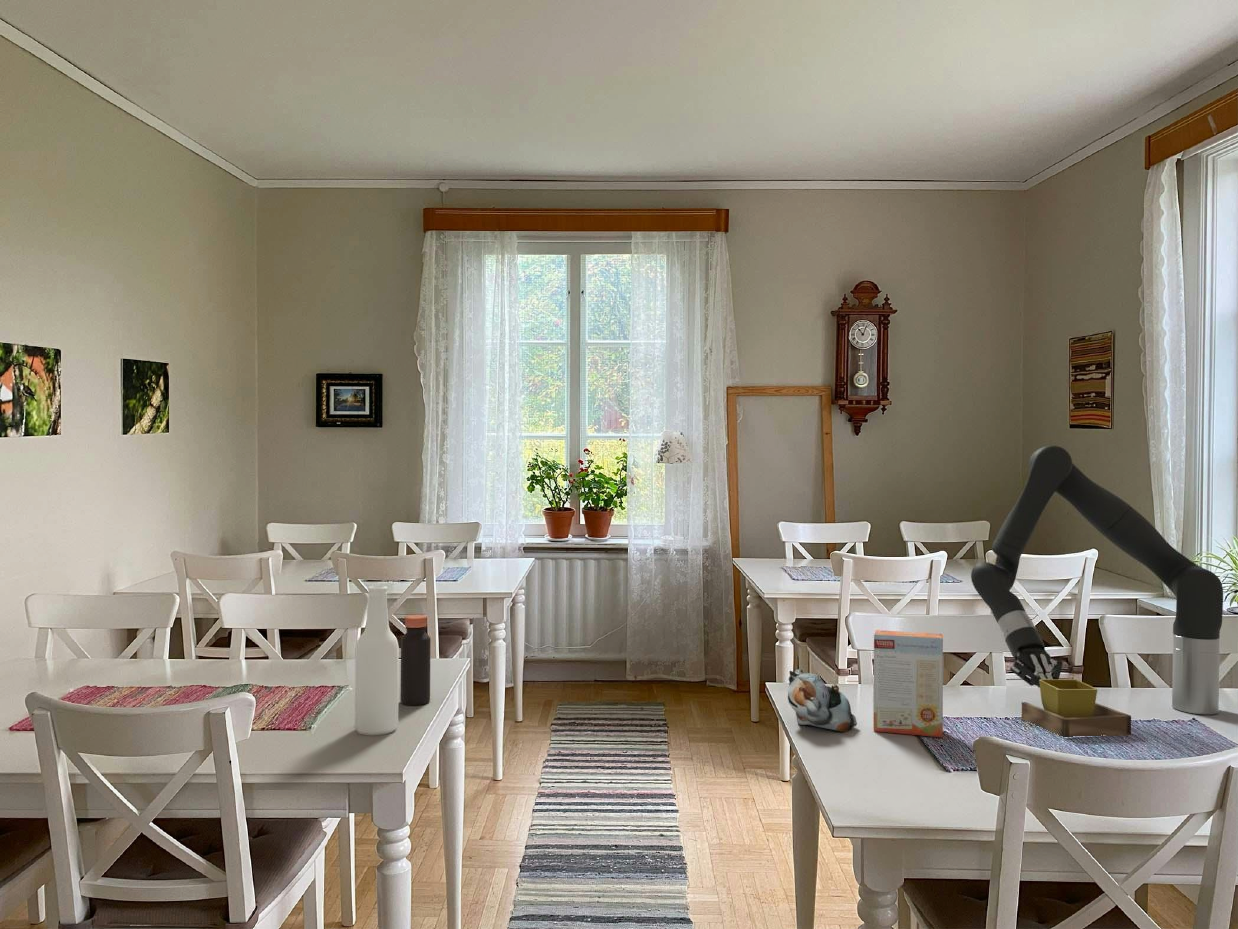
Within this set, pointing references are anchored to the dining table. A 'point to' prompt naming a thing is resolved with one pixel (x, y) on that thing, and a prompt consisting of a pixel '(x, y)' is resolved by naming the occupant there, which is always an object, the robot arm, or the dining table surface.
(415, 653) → the bottle
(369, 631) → the alcohol
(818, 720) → the lucky cat figurine
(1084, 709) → the flower pot
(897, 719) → the cracker box
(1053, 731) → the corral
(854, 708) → the dining table surface
